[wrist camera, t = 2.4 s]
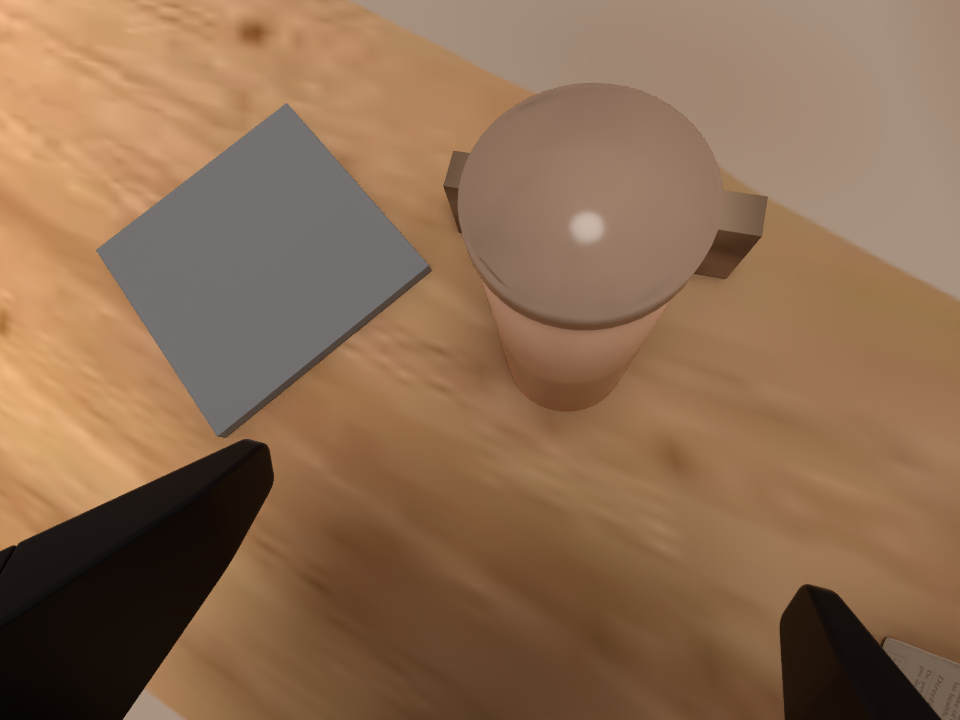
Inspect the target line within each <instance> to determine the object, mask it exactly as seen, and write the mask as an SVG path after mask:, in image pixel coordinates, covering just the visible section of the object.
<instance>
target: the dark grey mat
mask: <svg viewBox="0 0 960 720" xmlns="http://www.w3.org/2000/svg"><path fill="white" fill-rule="evenodd" d="M96 251H97V252H98V254H99V256H100V257H101V259H102V260H103V262H104V263H105V265H106V266H107V268H108V269H109V271H110V272H111V274H112V275H113V277H114V279H115V280H116V282H117V283H118V285H119V286H120V288H121V289H122V291H123V292H124V294H125V295H126V297H127V298H128V300H129V302H130V303H131V305H132V306H133V308H134V309H135V311H136V312H137V314H138V315H139V317H140V318H141V320H142V321H143V323H144V325H145V326H146V328H147V329H148V331H149V332H150V334H151V335H152V337H153V338H154V340H155V341H156V343H157V345H158V346H159V348H160V349H161V351H162V352H163V354H164V355H165V357H166V358H167V360H168V361H169V363H170V364H171V366H172V368H173V369H174V371H175V372H176V374H177V375H178V377H179V378H180V380H181V381H182V383H183V384H184V386H185V387H186V389H187V391H188V392H189V394H190V395H191V397H192V398H193V400H194V401H195V403H196V404H197V406H198V407H199V409H200V410H201V412H202V414H203V415H204V417H205V418H206V420H207V421H208V423H209V424H210V426H211V427H212V429H213V430H214V432H215V433H216V435H217V436H218V437H224V438H226V437H227V436H228V435H229V434H231V433H232V432H233V431H234V430H235V429H237V428H238V427H239V426H240V425H242V424H243V423H244V422H245V421H247V420H248V419H249V418H250V417H252V416H253V415H254V414H255V413H256V412H258V411H259V410H260V409H261V408H263V407H264V406H265V405H266V404H268V403H269V402H270V401H271V400H272V399H274V398H275V397H276V396H277V395H279V394H280V393H281V392H282V391H284V390H285V389H286V388H287V387H289V386H290V385H291V384H292V383H293V382H295V381H296V380H297V379H298V378H300V377H301V376H302V375H303V374H305V373H306V372H307V371H308V370H310V369H311V368H312V367H313V366H314V365H316V364H317V363H318V362H319V361H321V360H322V359H323V358H324V357H326V356H327V355H328V354H329V353H331V352H332V351H333V350H334V349H335V348H337V347H338V346H339V345H340V344H342V343H343V342H344V341H345V340H347V339H348V338H349V337H350V336H352V335H353V334H354V333H355V332H356V331H358V330H359V329H360V328H361V327H363V326H364V325H365V324H366V323H368V322H369V321H370V320H371V319H373V318H374V317H375V316H376V315H377V314H379V313H380V312H381V311H382V310H384V309H385V308H386V307H387V306H389V305H390V304H391V303H392V302H393V301H395V300H396V299H397V298H398V297H400V296H401V295H402V294H403V293H405V292H406V291H407V290H408V289H410V288H411V287H412V286H413V285H414V284H416V283H417V282H418V281H419V280H421V279H422V278H423V277H424V276H426V275H427V274H428V273H429V272H431V271H432V270H431V268H430V267H429V265H428V264H427V263H426V262H425V260H424V259H423V258H422V257H421V256H420V255H419V254H418V252H417V251H416V250H415V249H414V248H413V247H412V245H411V244H410V243H409V242H408V241H407V240H406V239H405V237H404V236H403V235H402V234H401V233H400V232H399V231H398V229H397V228H396V227H395V226H394V225H393V224H392V223H391V221H390V220H389V219H388V218H387V217H386V216H385V215H384V213H383V212H382V211H381V210H380V209H379V208H378V207H377V205H376V204H375V203H374V202H373V201H372V200H371V199H370V197H369V196H368V195H367V194H366V193H365V192H364V191H363V189H362V188H361V187H360V186H359V185H358V184H357V183H356V181H355V180H354V179H353V178H352V177H351V176H350V175H349V173H348V172H347V171H346V170H345V169H344V168H343V167H342V165H341V164H340V163H339V162H338V161H337V160H336V159H335V157H334V156H333V155H332V154H331V153H330V152H329V151H328V149H327V148H326V147H325V146H324V145H323V144H322V143H321V141H320V140H319V139H318V138H317V137H316V136H315V135H314V133H313V132H312V131H311V130H310V129H309V128H308V127H307V125H306V124H305V123H304V122H303V121H302V120H301V119H300V117H299V116H298V115H297V114H296V113H295V112H294V111H293V109H292V108H291V107H290V106H289V105H288V104H287V103H286V104H285V105H283V106H282V107H281V108H280V109H278V110H277V111H276V112H274V113H273V114H272V115H271V116H269V117H268V118H267V119H265V120H264V121H263V122H261V123H260V124H259V125H258V126H256V127H255V128H254V129H252V130H251V131H250V132H248V133H247V134H246V135H245V136H243V137H242V138H241V139H239V140H238V141H237V142H235V143H234V144H233V145H232V146H230V147H229V148H228V149H226V150H225V151H224V152H223V153H221V154H220V155H219V156H217V157H216V158H215V159H213V160H212V161H211V162H210V163H208V164H207V165H206V166H204V167H203V168H202V169H200V170H199V171H198V172H197V173H195V174H194V175H193V176H191V177H190V178H189V179H188V180H186V181H185V182H184V183H182V184H181V185H180V186H178V187H177V188H176V189H175V190H173V191H172V192H171V193H169V194H168V195H167V196H165V197H164V198H163V199H162V200H160V201H159V202H158V203H156V204H155V205H154V206H152V207H151V208H150V209H149V210H147V211H146V212H145V213H143V214H142V215H141V216H140V217H138V218H137V219H136V220H134V221H133V222H132V223H130V224H129V225H128V226H127V227H125V228H124V229H123V230H121V231H120V232H119V233H117V234H116V235H115V236H114V237H112V238H111V239H110V240H108V241H107V242H106V243H105V244H103V245H102V246H101V247H99V248H98V249H97V250H96Z"/></svg>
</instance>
